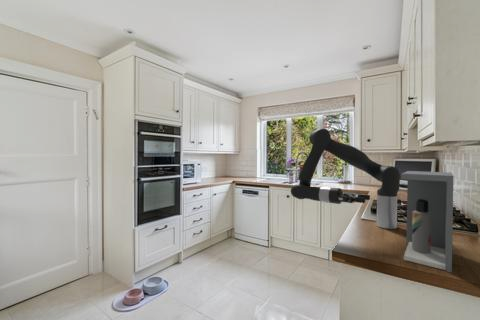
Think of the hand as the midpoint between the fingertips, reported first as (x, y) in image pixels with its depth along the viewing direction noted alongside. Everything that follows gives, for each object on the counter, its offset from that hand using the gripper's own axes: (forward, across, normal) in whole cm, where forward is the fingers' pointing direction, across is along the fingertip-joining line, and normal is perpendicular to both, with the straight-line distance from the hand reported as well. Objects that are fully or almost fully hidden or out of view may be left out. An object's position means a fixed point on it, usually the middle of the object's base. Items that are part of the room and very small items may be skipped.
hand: (367, 199), depth 101 cm
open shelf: (+20, 0, +20) cm, 28 cm away
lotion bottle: (+19, 0, +18) cm, 26 cm away
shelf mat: (+20, -1, +20) cm, 28 cm away
